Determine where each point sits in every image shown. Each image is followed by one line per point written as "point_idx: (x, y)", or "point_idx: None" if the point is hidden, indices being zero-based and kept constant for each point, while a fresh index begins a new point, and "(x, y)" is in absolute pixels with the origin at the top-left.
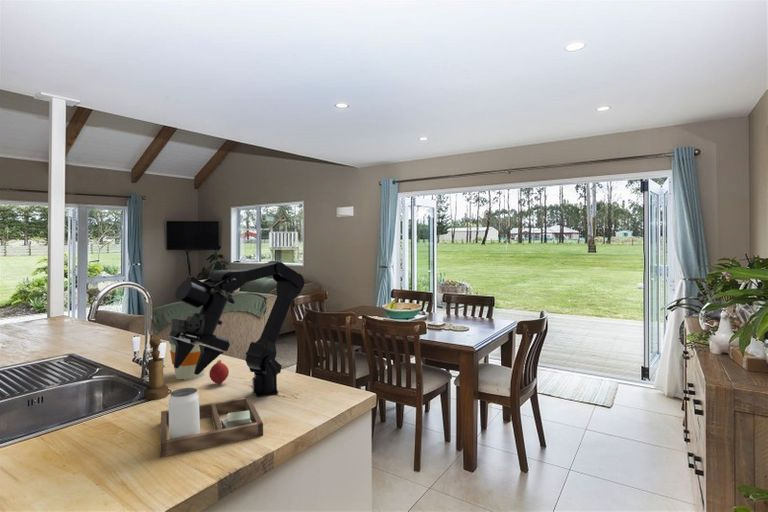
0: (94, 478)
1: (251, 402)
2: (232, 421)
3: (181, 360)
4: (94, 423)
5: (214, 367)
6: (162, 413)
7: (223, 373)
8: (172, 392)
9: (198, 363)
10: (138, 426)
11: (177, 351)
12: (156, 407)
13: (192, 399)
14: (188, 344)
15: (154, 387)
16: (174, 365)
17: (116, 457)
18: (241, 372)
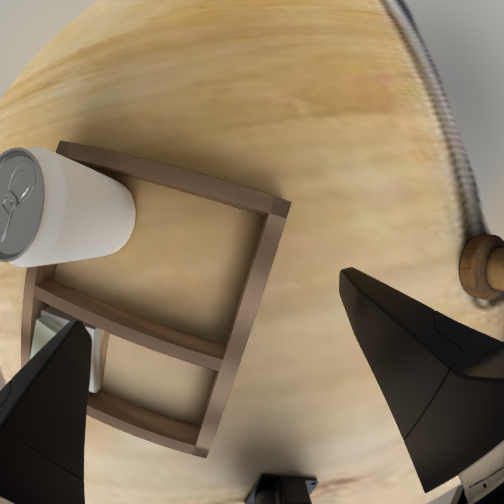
0: (103, 44)
1: (155, 441)
2: (35, 330)
3: (366, 341)
4: (400, 87)
5: None
6: (268, 199)
7: None
8: (33, 160)
9: (29, 365)
10: (307, 148)
11: (428, 338)
12: (413, 237)
13: None
14: (446, 467)
15: (490, 258)
16: (350, 272)
17: (151, 72)
18: None
